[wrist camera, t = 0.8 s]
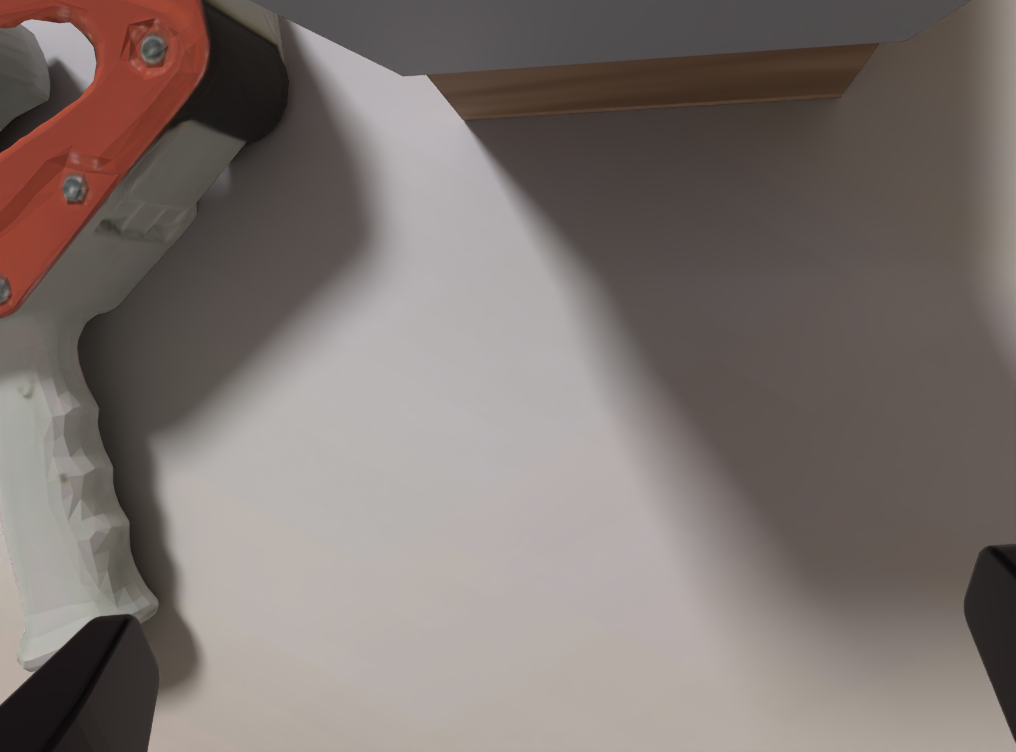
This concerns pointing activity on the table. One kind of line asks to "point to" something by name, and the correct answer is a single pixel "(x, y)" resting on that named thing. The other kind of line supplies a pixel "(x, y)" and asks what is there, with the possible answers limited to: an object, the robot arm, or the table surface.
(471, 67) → the lid
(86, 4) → the tape dispenser
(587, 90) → the box
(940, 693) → the table surface
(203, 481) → the table surface
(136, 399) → the table surface
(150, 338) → the table surface
